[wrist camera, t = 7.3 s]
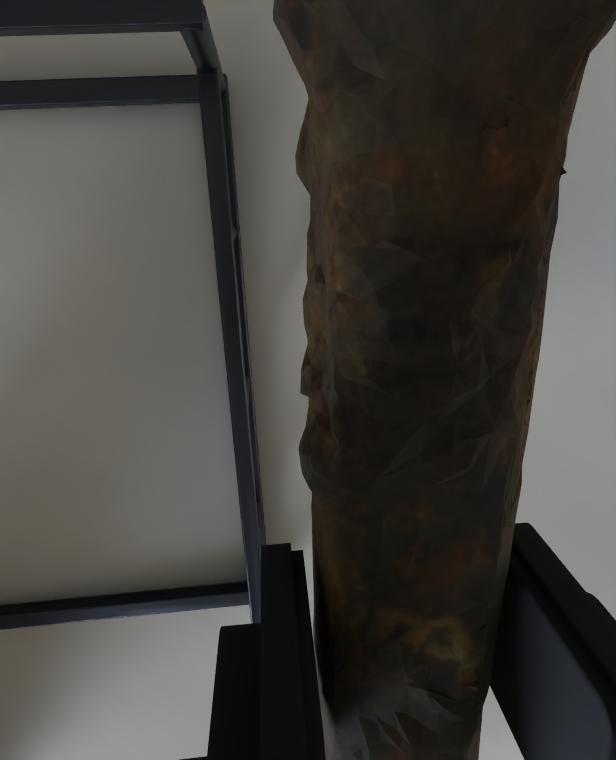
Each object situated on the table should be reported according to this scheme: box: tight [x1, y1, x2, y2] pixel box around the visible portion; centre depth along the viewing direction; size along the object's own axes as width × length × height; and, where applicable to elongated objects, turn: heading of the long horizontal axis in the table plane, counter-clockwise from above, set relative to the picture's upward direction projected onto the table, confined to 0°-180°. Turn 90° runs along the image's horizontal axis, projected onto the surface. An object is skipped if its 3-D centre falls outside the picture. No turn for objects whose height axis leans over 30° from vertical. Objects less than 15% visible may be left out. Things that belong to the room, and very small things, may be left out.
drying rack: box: [0, 0, 266, 760], centre depth 19 cm, size 15×23×9 cm, turn 2°
